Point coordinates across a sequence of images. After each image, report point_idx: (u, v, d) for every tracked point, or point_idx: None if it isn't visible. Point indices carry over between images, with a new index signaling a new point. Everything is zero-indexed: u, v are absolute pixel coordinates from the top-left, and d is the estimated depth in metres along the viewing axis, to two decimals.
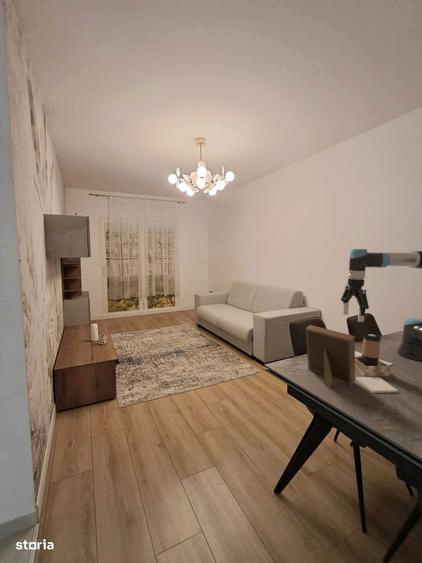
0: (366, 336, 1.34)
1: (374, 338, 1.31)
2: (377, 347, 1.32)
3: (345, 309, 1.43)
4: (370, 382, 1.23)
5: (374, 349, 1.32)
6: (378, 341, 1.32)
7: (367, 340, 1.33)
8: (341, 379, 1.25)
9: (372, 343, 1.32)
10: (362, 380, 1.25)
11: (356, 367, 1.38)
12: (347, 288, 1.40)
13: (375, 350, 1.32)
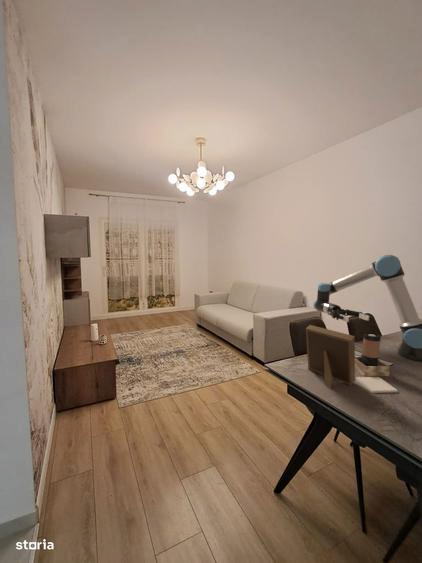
0: (366, 336, 1.34)
1: (374, 338, 1.31)
2: (377, 347, 1.32)
3: (364, 317, 1.48)
4: (370, 382, 1.23)
5: (374, 349, 1.32)
6: (378, 341, 1.32)
7: (367, 340, 1.33)
8: (341, 379, 1.25)
9: (372, 343, 1.32)
10: (362, 380, 1.25)
11: (356, 367, 1.38)
12: (346, 313, 1.59)
13: (375, 350, 1.32)
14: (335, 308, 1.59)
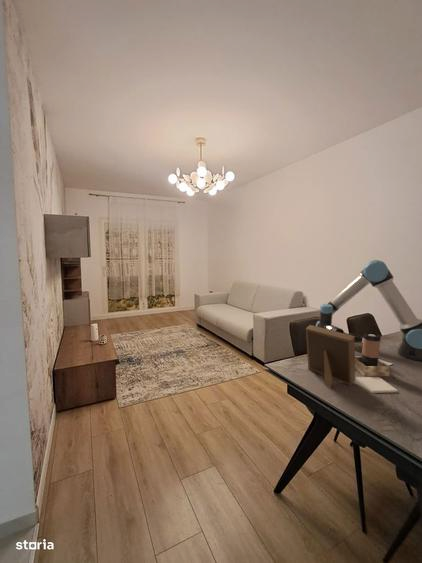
0: (366, 336, 1.34)
1: (374, 338, 1.31)
2: (377, 347, 1.32)
3: None
4: (370, 382, 1.23)
5: (374, 349, 1.32)
6: (378, 341, 1.32)
7: (367, 340, 1.33)
8: (341, 379, 1.25)
9: (372, 343, 1.32)
10: (362, 380, 1.25)
11: (356, 367, 1.38)
12: None
13: (375, 350, 1.32)
14: (338, 331, 1.57)
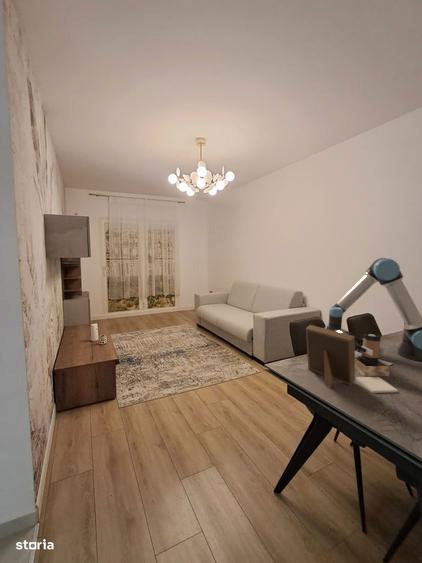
0: (366, 336, 1.34)
1: (374, 338, 1.31)
2: (377, 347, 1.32)
3: (379, 350, 1.35)
4: (370, 382, 1.23)
5: (374, 349, 1.32)
6: (378, 341, 1.32)
7: (367, 340, 1.33)
8: (341, 379, 1.25)
9: (372, 343, 1.32)
10: (362, 380, 1.25)
11: (356, 367, 1.38)
12: None
13: (375, 350, 1.32)
14: None
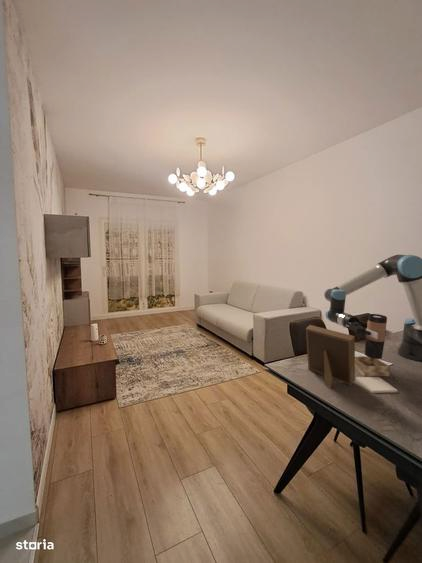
0: (371, 318, 1.21)
1: (380, 319, 1.18)
2: (383, 330, 1.19)
3: (386, 334, 1.21)
4: (370, 382, 1.23)
5: (379, 332, 1.19)
6: (384, 323, 1.18)
7: (372, 321, 1.20)
8: (341, 379, 1.25)
9: (377, 325, 1.19)
10: (362, 380, 1.25)
11: (356, 367, 1.38)
12: None
13: (381, 333, 1.19)
14: (352, 320, 1.36)
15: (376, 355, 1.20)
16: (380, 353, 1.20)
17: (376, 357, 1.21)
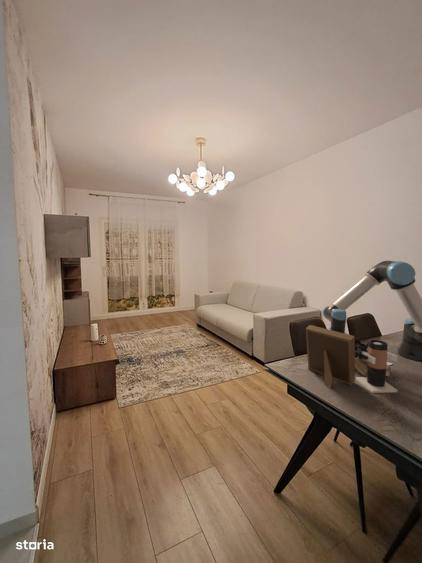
0: (371, 345, 1.19)
1: (380, 347, 1.17)
2: (384, 357, 1.17)
3: (390, 357, 1.21)
4: None
5: (381, 359, 1.17)
6: (385, 350, 1.17)
7: (373, 349, 1.19)
8: (341, 379, 1.25)
9: (378, 352, 1.17)
10: (362, 380, 1.25)
11: (356, 367, 1.38)
12: (367, 347, 1.33)
13: (382, 360, 1.17)
14: None
15: (378, 383, 1.18)
16: (383, 381, 1.18)
17: (379, 385, 1.19)
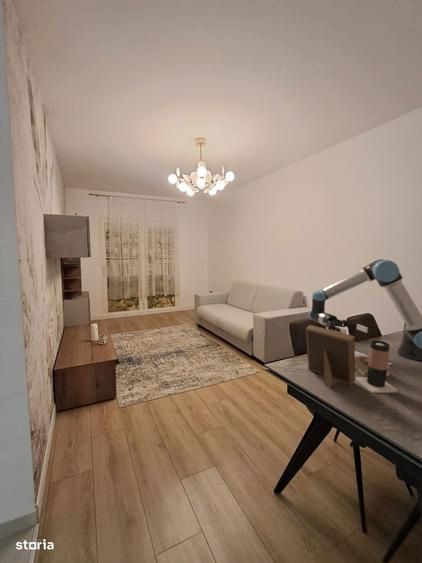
0: (373, 346, 1.19)
1: (382, 348, 1.16)
2: (386, 358, 1.17)
3: (362, 329, 1.38)
4: None
5: (382, 360, 1.17)
6: (387, 351, 1.16)
7: (374, 349, 1.18)
8: (341, 379, 1.25)
9: (380, 353, 1.17)
10: (362, 380, 1.25)
11: (356, 367, 1.38)
12: None
13: (383, 361, 1.17)
14: (331, 319, 1.49)
15: (379, 384, 1.18)
16: (383, 381, 1.18)
17: (379, 385, 1.19)
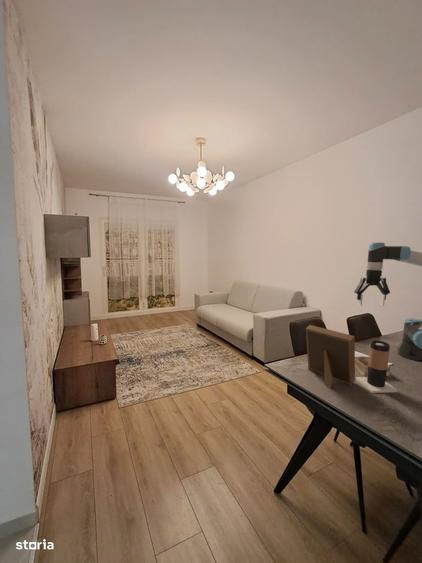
0: (373, 346, 1.19)
1: (382, 348, 1.16)
2: (386, 358, 1.17)
3: (381, 300, 1.51)
4: None
5: (382, 360, 1.17)
6: (387, 351, 1.16)
7: (375, 349, 1.18)
8: (341, 379, 1.25)
9: (380, 353, 1.17)
10: (362, 380, 1.25)
11: (356, 367, 1.38)
12: None
13: (383, 361, 1.17)
14: None
15: (379, 384, 1.18)
16: (383, 381, 1.18)
17: (379, 385, 1.19)
